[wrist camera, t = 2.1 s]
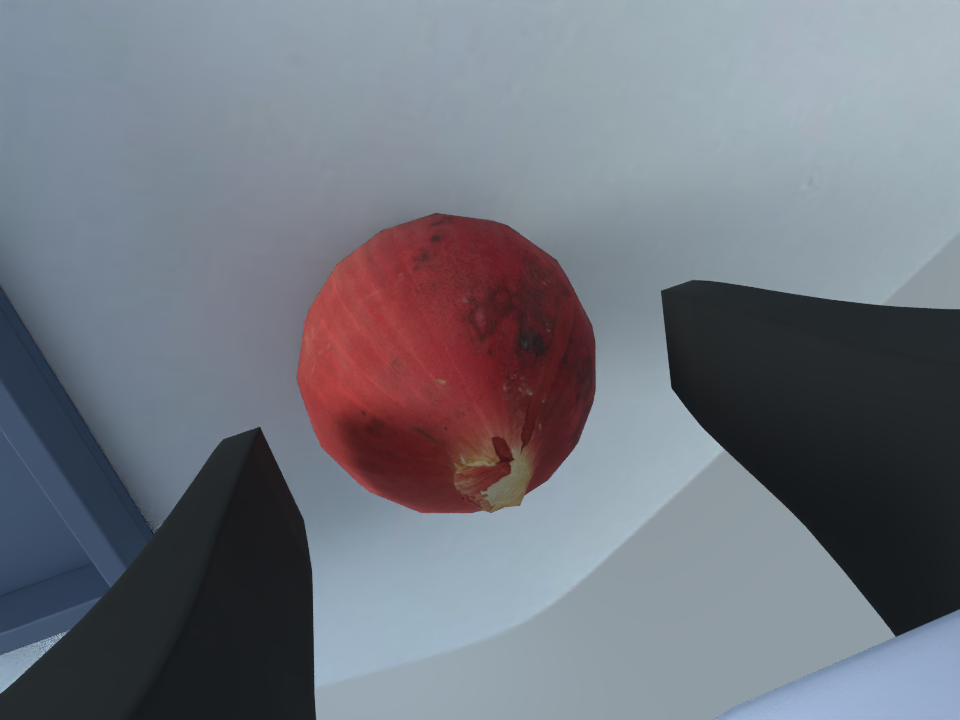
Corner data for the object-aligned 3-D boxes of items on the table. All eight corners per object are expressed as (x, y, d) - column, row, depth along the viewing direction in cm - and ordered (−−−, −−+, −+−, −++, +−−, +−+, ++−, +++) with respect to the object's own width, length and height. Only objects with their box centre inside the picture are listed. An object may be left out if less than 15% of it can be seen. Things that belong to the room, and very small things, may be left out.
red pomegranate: (379, 131, 15) (469, 215, 8) (569, 260, 18) (760, 409, 11) (249, 342, 16) (232, 573, 9) (444, 435, 19) (544, 670, 12)
